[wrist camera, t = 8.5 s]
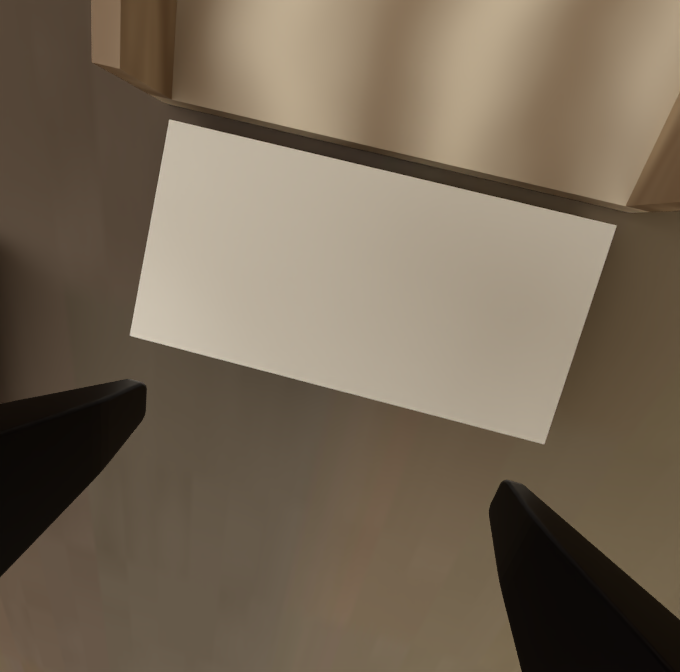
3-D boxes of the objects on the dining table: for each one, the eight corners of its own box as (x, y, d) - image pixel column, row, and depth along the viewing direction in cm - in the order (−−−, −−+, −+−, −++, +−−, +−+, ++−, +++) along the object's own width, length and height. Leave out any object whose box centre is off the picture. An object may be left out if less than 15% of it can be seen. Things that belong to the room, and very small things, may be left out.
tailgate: (616, 225, 13) (544, 444, 14) (587, 234, 15) (524, 429, 16) (169, 119, 14) (129, 335, 15) (190, 139, 15) (153, 332, 16)
